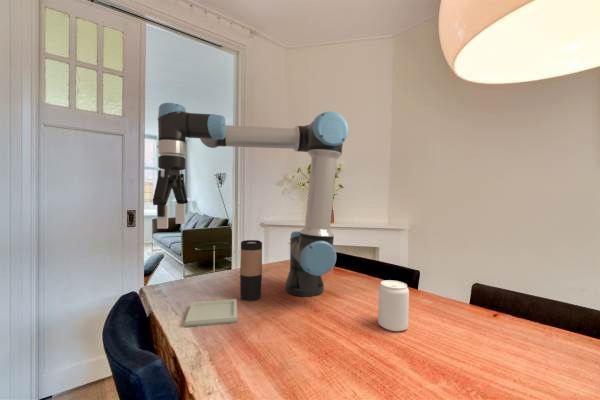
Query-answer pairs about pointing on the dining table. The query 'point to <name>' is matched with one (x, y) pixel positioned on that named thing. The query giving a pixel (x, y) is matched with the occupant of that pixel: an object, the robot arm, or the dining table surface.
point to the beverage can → (393, 305)
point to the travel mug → (251, 270)
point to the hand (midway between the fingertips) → (172, 225)
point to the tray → (212, 313)
